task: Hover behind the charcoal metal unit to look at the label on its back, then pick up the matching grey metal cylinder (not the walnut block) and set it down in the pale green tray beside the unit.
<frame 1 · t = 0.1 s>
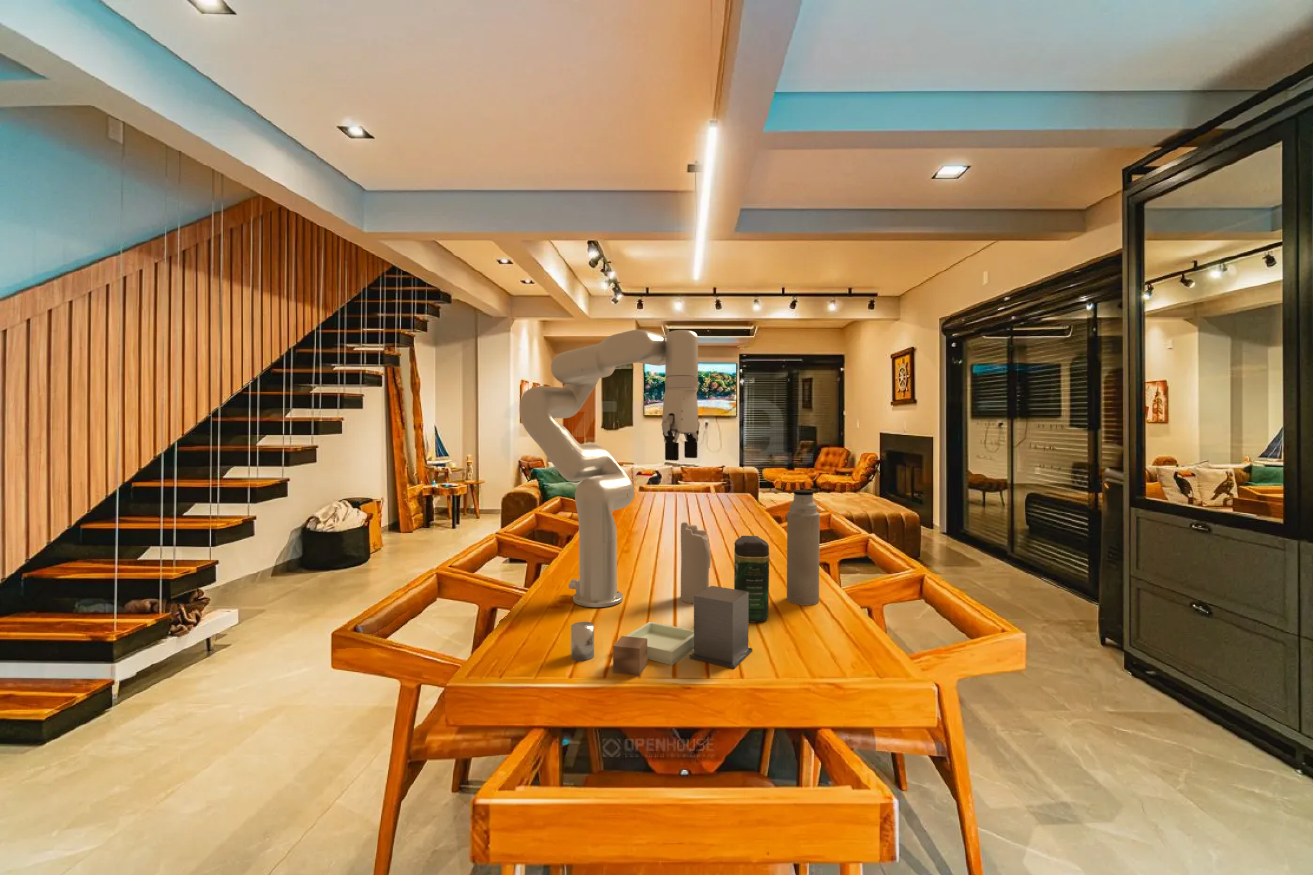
hand: (681, 459, 134), 37 cm above the table, tool pointing down, fingers open, 9 cm apart
grey cylinder: (582, 656, 112), on the table
unit: (721, 654, 112), on the table
tray: (660, 647, 116), on the table
walnut block: (630, 668, 106), on the table
thermos bottle: (802, 601, 147), on the table
grey jagged upright block: (707, 601, 147), on the table
coffee jar: (751, 617, 135), on the table
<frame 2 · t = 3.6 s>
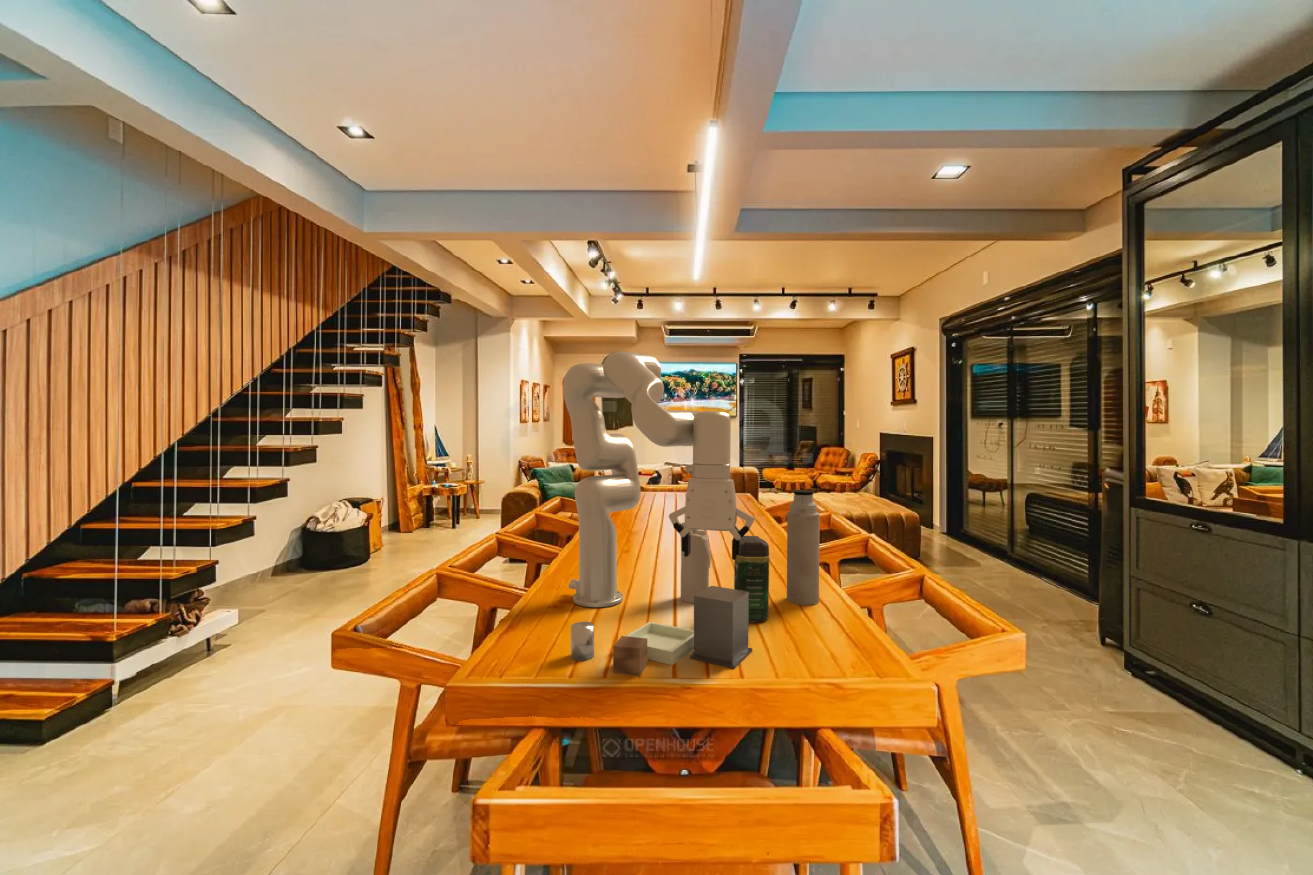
hand: (710, 556, 117), 18 cm above the table, tool pointing down, fingers open, 9 cm apart
nothing on the table moved.
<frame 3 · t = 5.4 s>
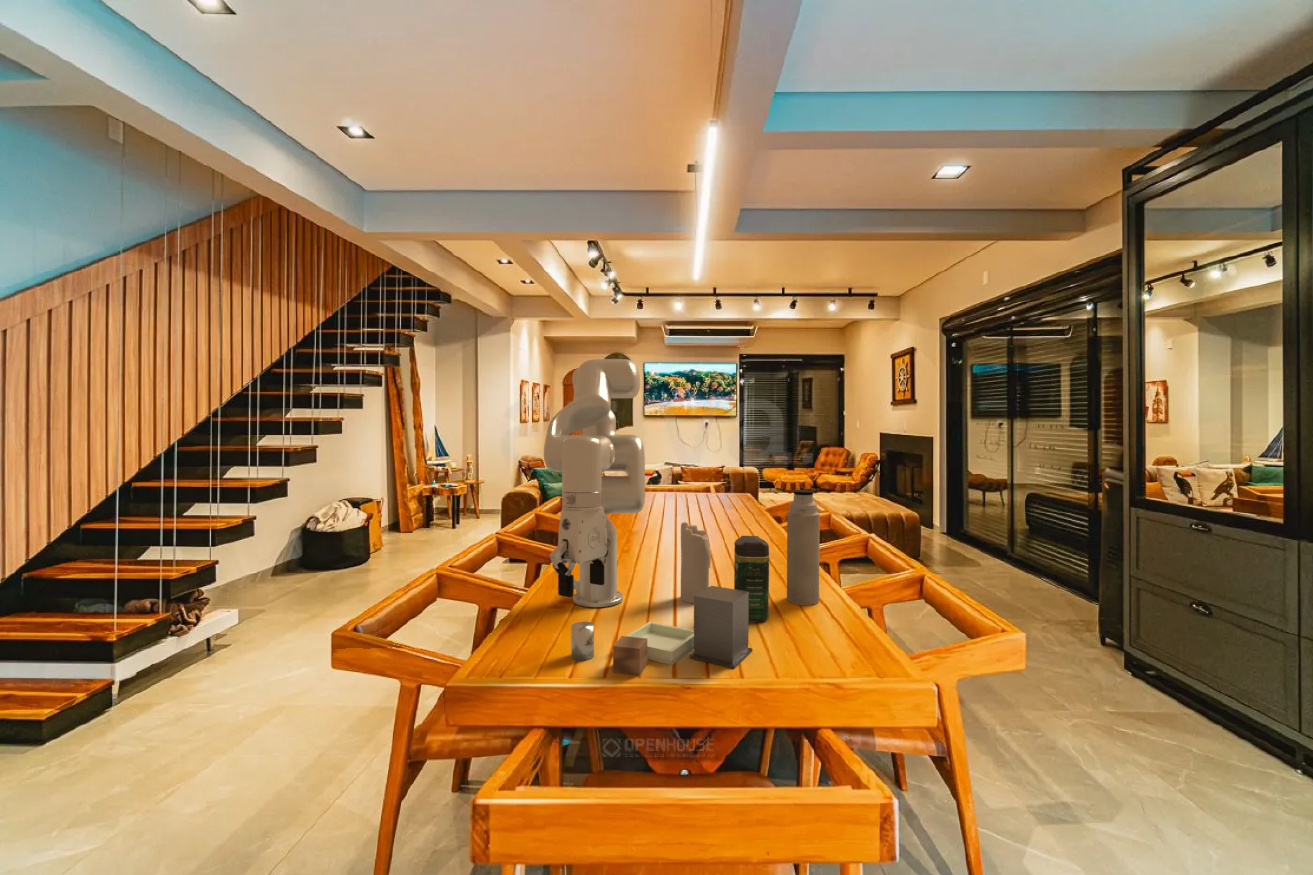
hand: (582, 589, 111), 13 cm above the table, tool pointing down, fingers open, 9 cm apart
nothing on the table moved.
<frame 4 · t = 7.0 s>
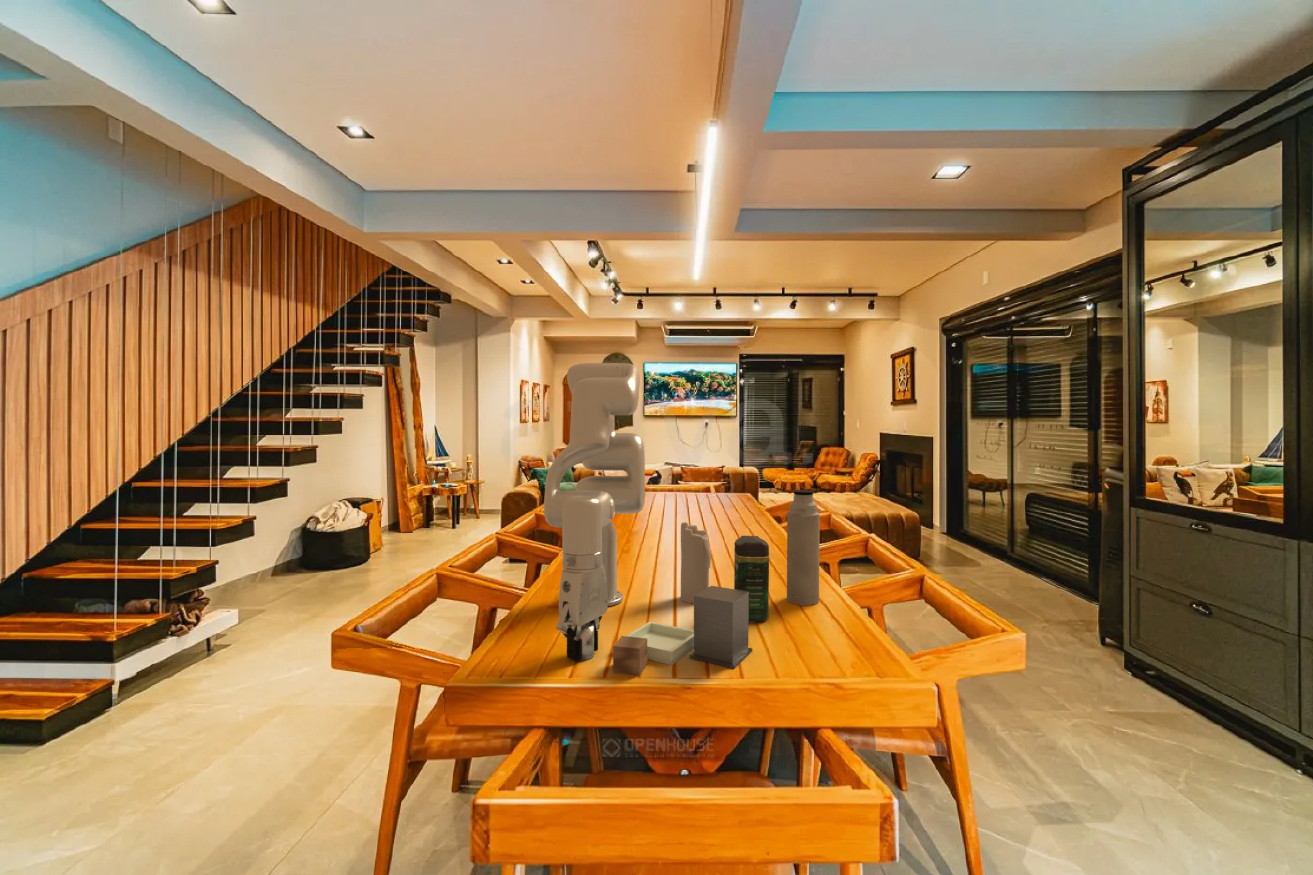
hand: (582, 653, 112), 1 cm above the table, tool pointing down, fingers closed on grey cylinder, 4 cm apart
grey cylinder: (582, 656, 112), on the table, touching gripper
everything else where it was.
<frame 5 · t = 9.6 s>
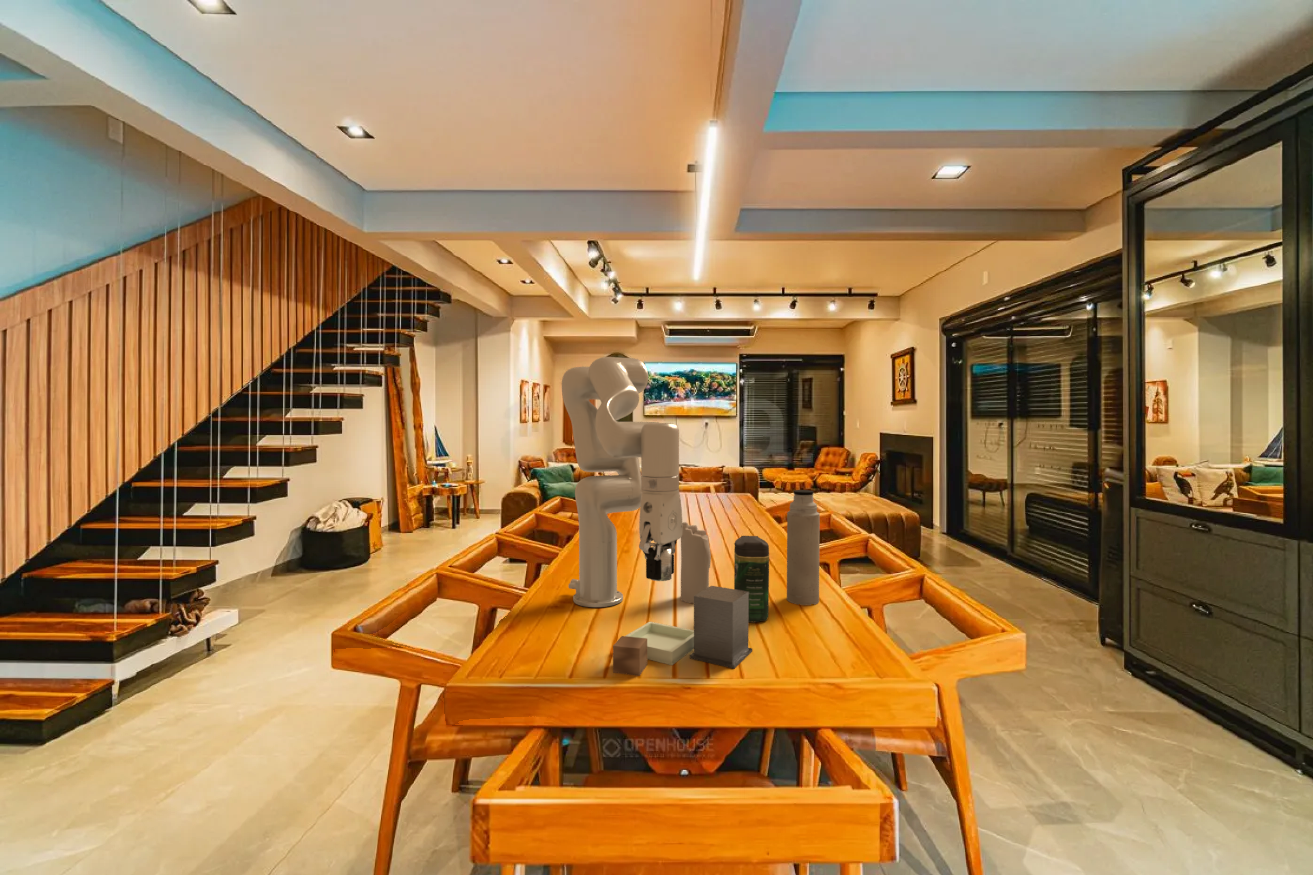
hand: (660, 575, 115), 15 cm above the table, tool pointing down, fingers closed on grey cylinder, 4 cm apart
grey cylinder: (660, 578, 115), point 14 cm above the table, touching gripper
everything else where it was.
when the fingers open (3 cm above the table, at t = 12.0 s): grey cylinder drops 1 cm, resting on tray.
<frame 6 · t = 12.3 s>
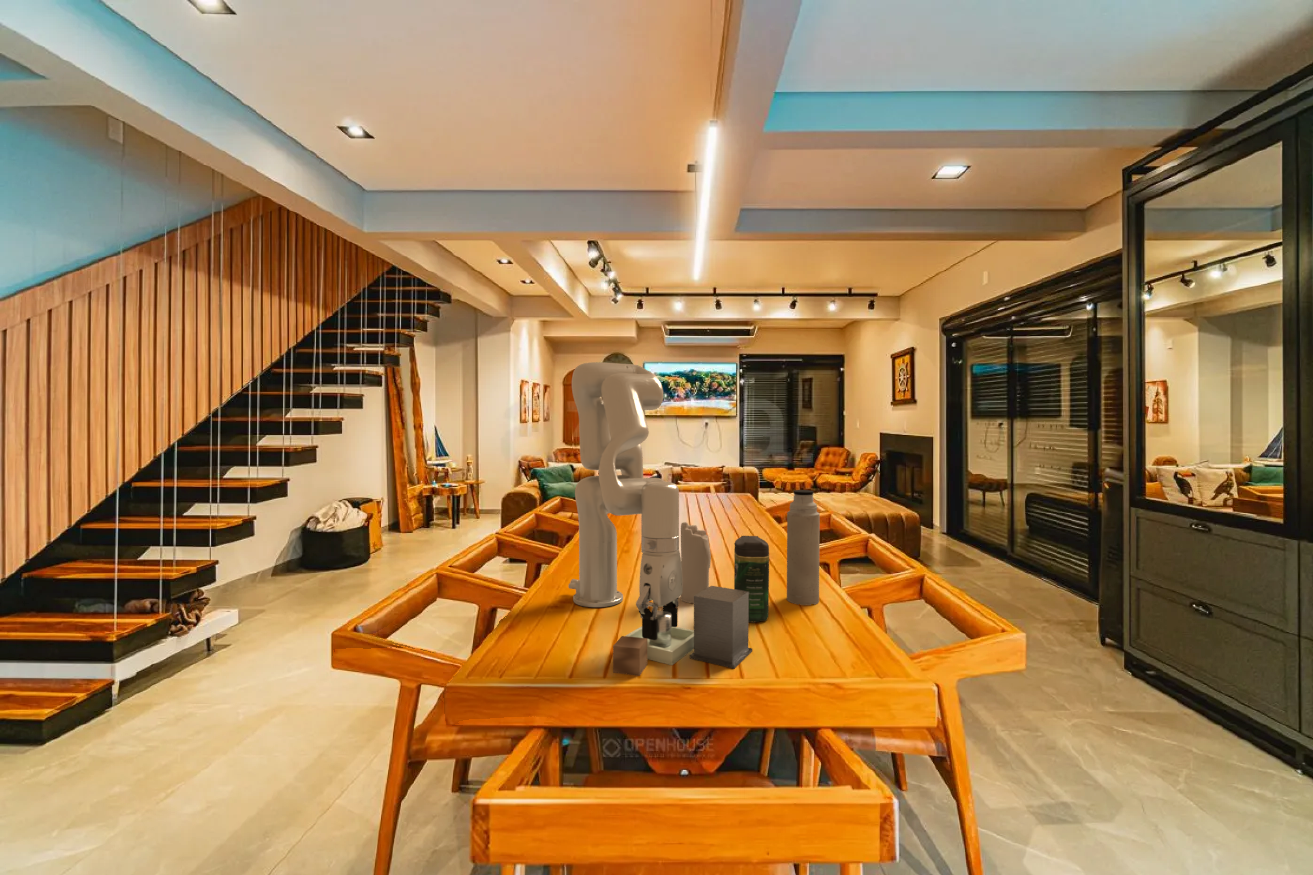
hand: (660, 631, 116), 3 cm above the table, tool pointing down, fingers open, 7 cm apart
grey cylinder: (660, 643, 116), point 1 cm above the table, touching tray
everything else where it was.
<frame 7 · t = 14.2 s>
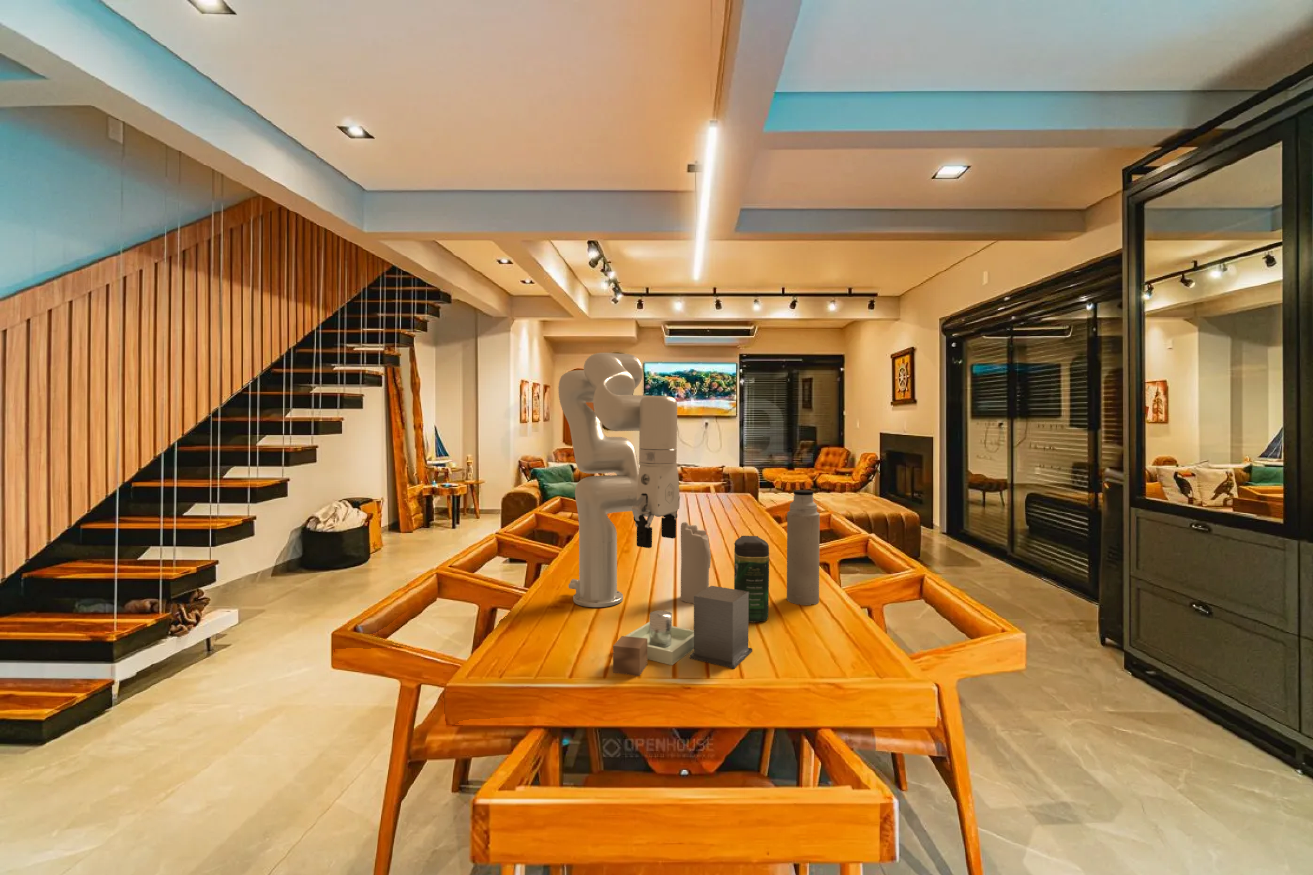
hand: (656, 542, 117), 21 cm above the table, tool pointing down, fingers open, 9 cm apart
nothing on the table moved.
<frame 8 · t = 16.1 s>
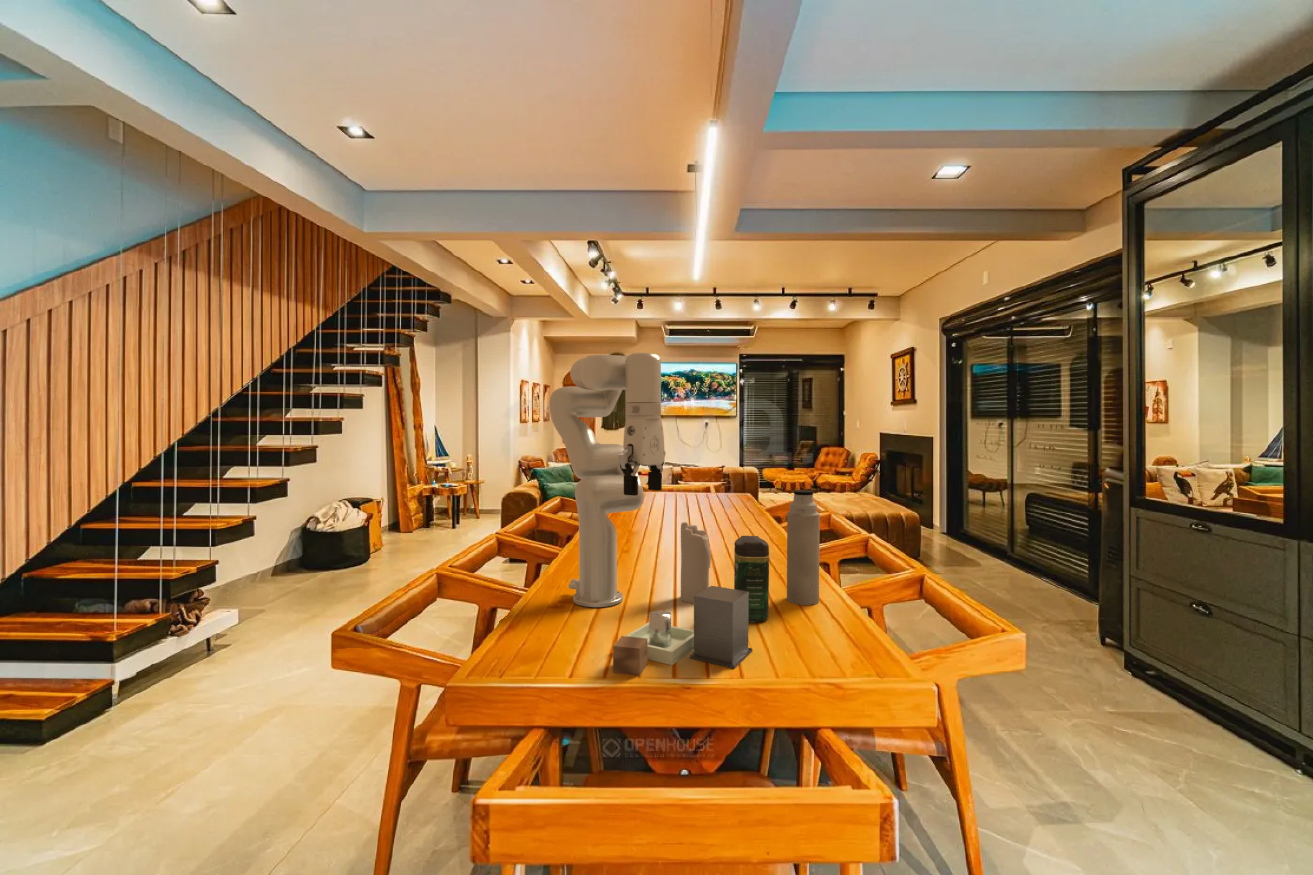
hand: (643, 492, 123), 30 cm above the table, tool pointing down, fingers open, 9 cm apart
nothing on the table moved.
at the end: grey cylinder inside the target area on the tray (0.1 cm from its centre), point 0.8 cm above the tray's base; grey cylinder tilted 1°; walnut block moved 0.1 cm from its start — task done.
